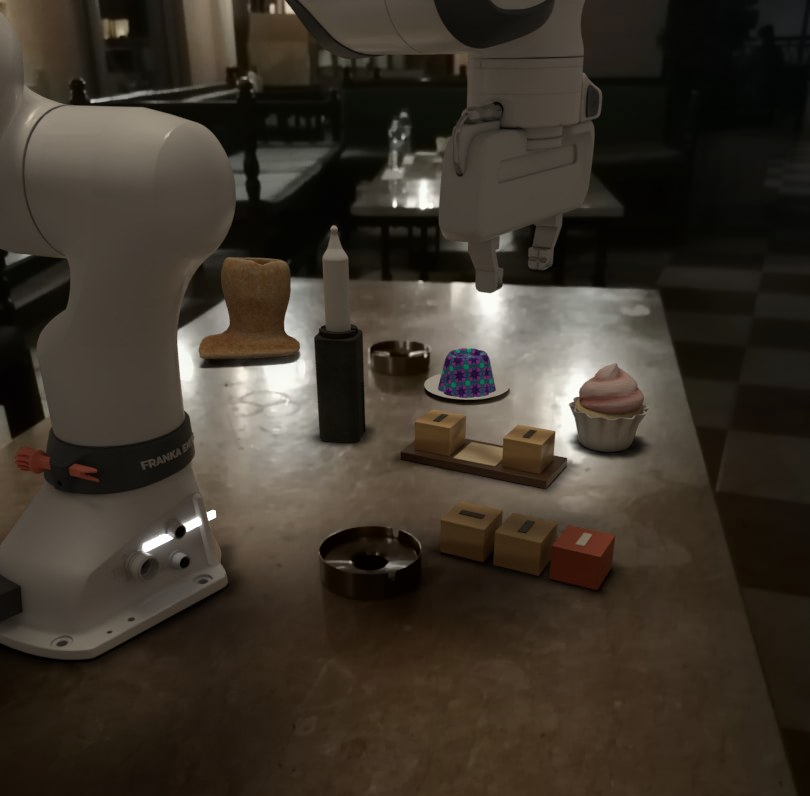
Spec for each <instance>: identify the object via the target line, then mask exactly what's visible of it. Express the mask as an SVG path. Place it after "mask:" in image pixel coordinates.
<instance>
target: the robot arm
mask: <svg viewBox="0 0 810 796" xmlns="http://www.w3.org/2000/svg"><path fill="white" fill-rule="evenodd" d="M284 2H286V4H287V5H288V6H289V8H290V9H291V10H292V11H293V13H294V14H295V15H296V17H297V19H298V20H299V21H300V23H301V24H302V26H303V27H304V29H306V31H307V32H308V33H309V35H310V36H311V37H312V38H313V39H314V40H315V42H316V43H317V44H319V46H321V47H322V48H323V49H324V50H325V51H327V52H329V53H330V54H332V55H334V56H335V57H339V58H342V59H345V60H360V59H365V58H366V59H367V58H375V57H383V56H389V55H391V56H392V55H394V56H399V55H400V56H401V55H404V56H406V55H407V56H408V55H410V56H411V55H415V56H416V55H418V56H419V55H420V56H421V55H423V56H426V55H466V54H467V77H466V78H467V83H466V84H467V85H466V86H467V88H466V90H467V91H466V108H464V109H463V110H462V112H461V115H460V118H459V119H458V121H457V123H456V125H454V126H453V128H452V132H451V136H450V138H449V139H448V141H447V143H446V144H445V145H446V146H445V149H444V151H443V152H444V154H443V158H442V166H441V176H440V189H439V190H440V191H439V202H438V203H439V204H438V226H439V229H440V231H441V234H442V236H443V238H444V239H445V240H448V241H453V242H461V243H467V252H468V254H469V258H470V260H471V263H472V265H473V269H474V270H475V283H474V284H475V285H474V286H475V290H476V291H477V292H478V293H486V294H493V293H494V292H497V291H499V290H501V289H502V288H503V286H504V280H503V278H504V267H499V261H498V256H497V250H499V249H500V240H501V238H500V237H501V236H503V235H506V234H509V233H511V232H514V231H517V230H520V229H523V228H526V227H529V226H531V225H534V226H536V227H535V231H534V237H533V240H532V246H531V247H530V246H529V248H528V251H527V257H528V259H527V266H528V268H529V269H531V270H536V271H544V270H546V269H548V268H551V267H552V266H553V263H554V252H555V251H554V250H555V249H554V248H555V246H556V244H557V241H558V238H559V235H560V232H561V229H562V226H563V217H564V216H563V215H564V214H565V213H568V212H570V211H574V210H577V209H579V208H581V207H582V205H583V203H584V202H585V199H586V197H587V194H588V192H589V187H590V181H591V173H592V168H593V167H592V165H593V159H594V158H593V157H594V147H595V136H596V135H595V134H596V133H595V125H594V122H593V121H592V120H595V119H598V118H599V117H600V115H601V112H602V106H603V93H602V90H601V89H600V88H599V87H598V86H596V85H595V84H594V83H593V82H592V81H591V80H590V79H589V77H588V76H587V74H586V73H585V72H584V59H585V57H584V56H585V47H584V41H583V37H582V16H583V15H582V14H583V9H584V5H585V2H586V0H284ZM23 58H24V57H23V52H22V45H21V43H20V40H19V37H18V35H17V33H16V30H15V29H14V27H13V26H12V24H11V22H10V20H8V18H7V17H6V16H5V14H4V13H2V11H0V250H3V251H6V252H9V253H12V254H19V255H27V256H37V257H48V258H57V259H65V260H67V262H68V266H69V273H70V276H69V277H70V280H69V281H70V284H69V294H68V301H67V304H66V308H65V309H64V310H63V311H61V312H60V313H58V314H57V315H56V316H54V318H52V319H51V320H50V321H49V322H48V323H46V325H45V326H44V327H43V329H42V330H41V331H40V334H39V337H38V339H37V343H36V357H37V361H38V365H39V371H40V376H41V381H42V385H43V386H42V387H43V390H44V395H45V400H46V404H47V409H48V414H49V419H50V423H51V426H50V429H49V431H48V436H47V442H46V451H44V450H42V449H36V448H35V449H34V448H33V447H30V446H22V447H20V448H19V449H17V451H16V455H15V456H14V460H15V461H14V463H15V465H16V467H17V469H19V470H20V471H24V472H31V473H33V474H36V475H40V474H42V473H43V478H44V481H43V482H42V484H41V485H40V487H39V488H38V490H37V491H36V492H35V494H34V496H33V497H32V499H31V500H30V501H29V503H28V504H27V506H26V508H25V509H24V510H23V512H22V514H21V515H20V516H19V518H18V519H17V521H16V522H15V524H14V525H13V526H12V528H11V529H10V531H8V533H7V535H5V538H4V539H3V540H2V541H1V543H0V644H1V645H3V646H6V647H8V648H10V649H13V650H17V651H19V652H23V653H26V654H29V655H32V656H37V657H41V658H46V659H47V658H48V659H54V660H66V661H67V660H68V661H69V660H70V661H77V660H78V661H80V660H90V659H94V658H96V657H99V656H100V655H103V654H104V653H106V652H108V651H110V650H112V649H114V648H116V647H117V646H119V645H121V644H123V643H125V642H126V641H128V640H130V639H132V638H134V637H136V636H137V635H139V634H141V633H143V632H145V631H147V630H149V629H151V628H152V627H154V626H156V625H158V624H159V623H161V622H163V621H165V620H167V619H169V618H171V617H173V616H174V615H176V614H178V613H180V612H182V611H183V610H185V609H188V608H189V607H191V606H193V605H195V604H196V603H198V602H200V601H202V600H204V599H206V598H207V597H209V596H211V595H213V594H215V593H217V592H219V591H220V590H223V589H224V588H225V587H226V586H227V585H228V583H229V579H228V576H227V572H226V569H225V568H224V566H223V564H222V563H221V562H222V550H221V547H220V545H219V543H218V541H217V539H216V537H215V535H214V532H213V529H212V527H211V523H210V521H212V520H213V519H215V518H217V513H216V510H214V509H212V510H210V511H207V507H206V504H205V501H204V496H203V493H202V490H201V488H200V485H199V481H198V479H197V475H196V472H195V467H194V463H193V460H194V458H195V456H196V450H195V449H196V448H195V433H194V432H193V428H192V422H191V417H190V415H189V413H188V412H187V411H186V410H185V406H184V399H183V389H182V380H181V371H180V360H179V346H178V345H179V344H178V334H179V333H178V332H179V319H180V314H181V309H182V304H183V300H184V297H185V294H186V291H187V289H188V287H189V284H190V283H191V280H192V278H193V277H194V275H195V273H196V272H197V270H198V269H199V268H200V267H201V265H202V264H204V262H205V261H206V260H207V259H208V258H209V257H211V256H212V255H213V254H214V253H215V252H216V251H217V250H218V249H219V247H221V245H222V243H223V242H224V241H225V239H226V237H227V235H228V233H229V231H230V229H231V227H232V223H233V221H234V216H235V211H236V207H237V187H236V180H235V174H234V170H233V167H232V165H231V161H230V160H229V157H228V155H227V152H226V150H225V149H224V147H223V145H222V144H221V142H220V140H219V139H218V138H217V137H216V135H215V134H214V133H213V132H212V131H211V130H210V129H209V128H208V127H206V126H205V125H203V124H201V123H199V122H196V121H193V120H190V119H187V118H183V117H181V116H177V115H174V114H172V113H167V112H163V111H160V110H157V109H156V110H155V109H151V108H148V107H144V106H110V105H109V106H108V105H74V104H66V103H61V102H59V101H55V100H53V99H50V98H47V97H44V96H42V95H41V94H38V93H37V92H35V91H33V90H32V89H30V88H29V87H28V86H27V85H26V84H25V70H24V59H23Z"/></svg>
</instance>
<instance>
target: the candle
mask: <svg viewBox="0 0 810 796" xmlns="http://www.w3.org/2000/svg"><path fill="white" fill-rule="evenodd" d="M338 230H339V229H338V227H337V226H336V225H331V227H330V229H329V231H330V235H329V241H328V244H327V248H326V250H325V251H324V253H323V254H322V258H321V259H322V260H321V261H322V278H323V280H322V281H323V299H324V318H325V319H324V321H325V324H323V325H321V326H320V327H318V332H317V333H316V335H314V337H313V342H314V343H313V344H314V361H315V377H316V379H315V380H316V398H317V415H318V433H319V439H320V440H321V441H322V442H330V443H342V444H344V443H345V444H354V443H358V442H359V441H361V436H362V435H363V434H364V433H365V432H366V402H365V401H366V399H365V369H364V367H365V365H364V336H363V335H364V333H363V330H362V329H359V327H358V326H357V325H356V324H352V323H351V299H350V298H351V297H350V272H349V270H350V269H349V267H350V266H349V256H348V255H347V253H346V251H345V250H344V249H343V246H342V244H341V241H340V237H339V235H338Z"/></svg>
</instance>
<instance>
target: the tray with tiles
mask: <svg viewBox="0 0 810 796" xmlns="http://www.w3.org/2000/svg"><path fill="white" fill-rule="evenodd" d="M466 430H467V415H466V414H462V413H456V412H449V411H444V410H438V409H430V410H429V411H427V412H426V413H424V414H423V415H422V416H421V417H419V418H418V419H415V421H414V440H413V441H412V442H411V443H410V444H409V445H407V446H406V447H404V448H403V449H402V450H401V451H400V460H402V461H403V460H404V461H409V462H414V463H418V464H423V465H429V466H433V467H438V468H443V469H448V470H451V471H452V470H453V471H457V472H462V473H467V474H471V475H472V474H473V475H476V476H482V477H487V478H491V479H496V480H502V481H506V482H510V483H511V482H512V483H515V484H520V485H525V486H529V487H535V488H539V489H540V488H541V489H545V490H546V489H547V488H548V487H549V486H550V485H551V484H552V483H553V481H555V480H556V478H557V477H558V476H559V475H560V474H561V472H562V471H564V469H565V468H566V467H567V465H568V457H566V456H559V455H555V446H556V445H555V442H556V431H555V430H551V429H547V428H540V427H535V426H529V425H524V424H517V425H516V426H515V427H514V428H512V429H511V430H510V431H509V432H508V433H507V434H506V435H505V436H504V437H503V438H502V445H501V444H496V443H491V442H485V441H481V440H475V439H469V438H466V436H467V435H466V432H467V431H466Z"/></svg>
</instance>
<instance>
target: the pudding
mask: <svg viewBox="0 0 810 796" xmlns="http://www.w3.org/2000/svg"><path fill="white" fill-rule="evenodd" d="M423 387H424V388H425V390H427V392H429V393H431V394H433V395H436V396H438V397H442V398H445V399H453V400H461V401H463V400H464V401H472V400H473V401H475V400H484V399H490V398H494V397H498V396H500V395H503V394H505V393H506V392H507V391H508V390H509V389H510V387H511V384H510V382H509V381H508V380H507V379H506V378H504V377H502V376H500V375H497V374H494V373H493V369H492V365H491V359H490V357H489V355H488V353H487V352H486V351H484V350H482V349H478V348H474V347H473V348H472V347H471V348H464V347H463V348H458V349H453V350H451V351H449V352H448V353H447V355H446V356H445V359H444V363H443V367H442V370H441V373H438V374H435V375H432V376H430V377H429V378H427V379H426V380H425V381H424V383H423Z"/></svg>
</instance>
